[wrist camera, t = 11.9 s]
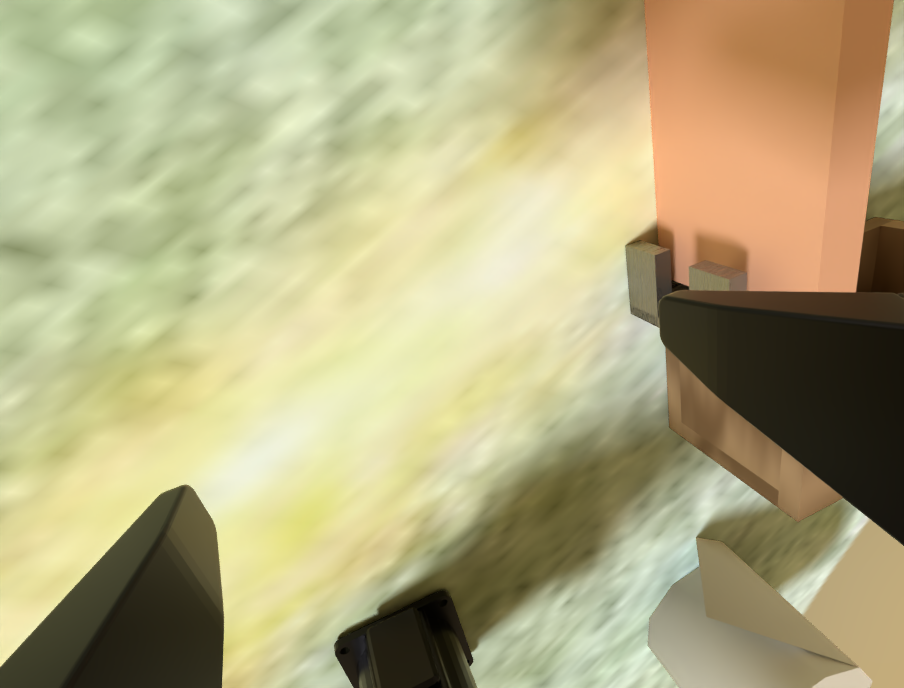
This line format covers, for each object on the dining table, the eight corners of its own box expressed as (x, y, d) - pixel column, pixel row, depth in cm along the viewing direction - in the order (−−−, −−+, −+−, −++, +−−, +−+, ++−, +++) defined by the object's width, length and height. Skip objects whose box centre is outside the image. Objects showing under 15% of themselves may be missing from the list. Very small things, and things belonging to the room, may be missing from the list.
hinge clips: (710, 281, 26) (823, 320, 21) (631, 313, 25) (728, 362, 20) (710, 214, 25) (832, 238, 19) (625, 245, 24) (729, 279, 18)
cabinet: (857, 342, 32) (1023, 402, 25) (669, 427, 29) (797, 521, 22) (875, 217, 28) (1076, 246, 21) (663, 300, 26) (814, 365, 19)
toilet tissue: (696, 515, 33) (823, 628, 26) (767, 587, 40) (885, 694, 32) (597, 613, 34) (694, 752, 26) (684, 668, 40) (781, 793, 33)
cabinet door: (699, 259, 26) (865, 309, 19) (659, 275, 25) (813, 332, 18) (693, -27, 20) (924, -109, 13) (642, -14, 20) (853, -91, 13)
